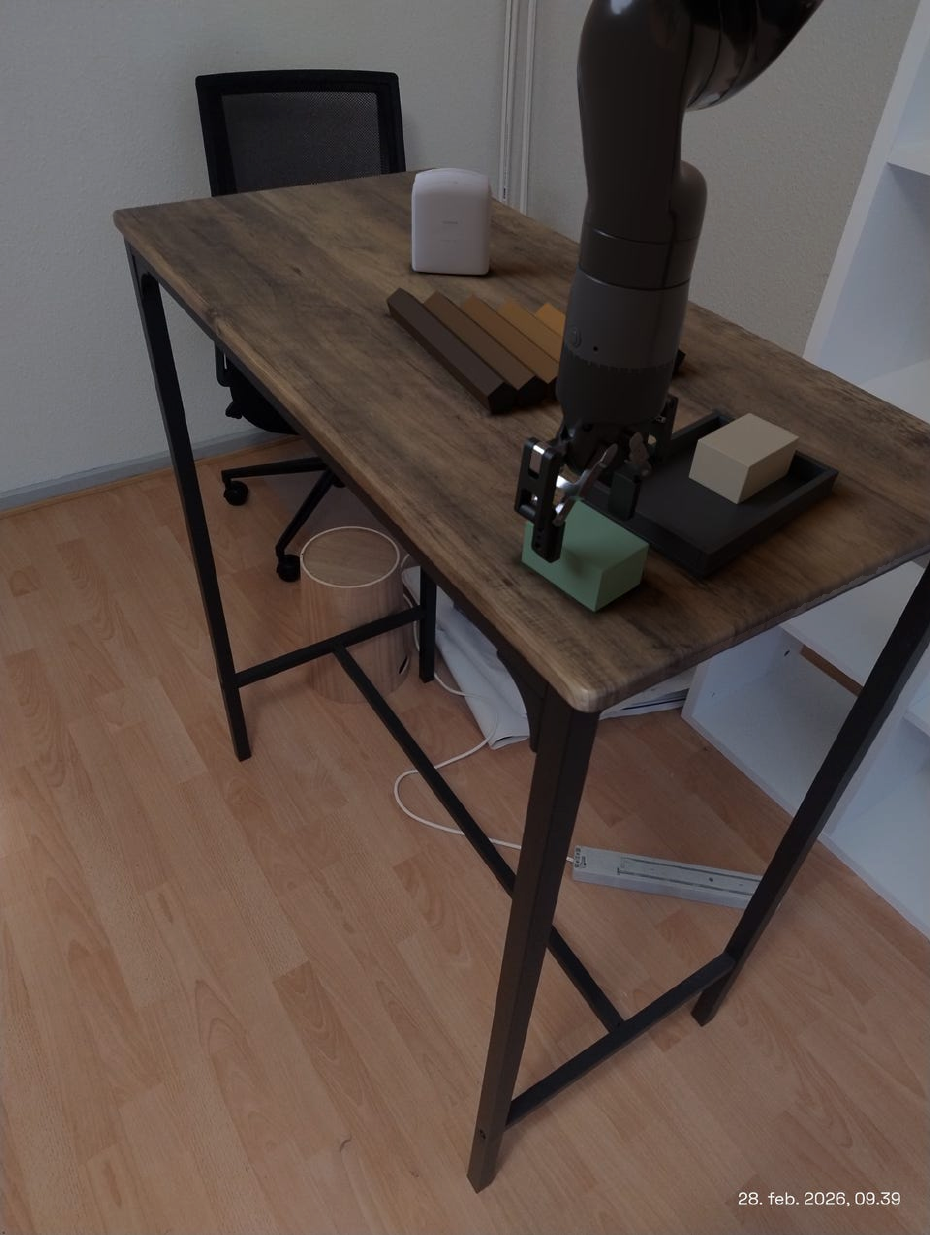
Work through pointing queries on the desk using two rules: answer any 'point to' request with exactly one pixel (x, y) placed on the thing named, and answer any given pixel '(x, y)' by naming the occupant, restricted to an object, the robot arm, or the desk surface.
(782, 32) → the robot arm
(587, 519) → the sage pad
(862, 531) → the desk surface
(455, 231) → the photo printer
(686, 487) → the tray
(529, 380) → the pan flute
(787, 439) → the beige pad
